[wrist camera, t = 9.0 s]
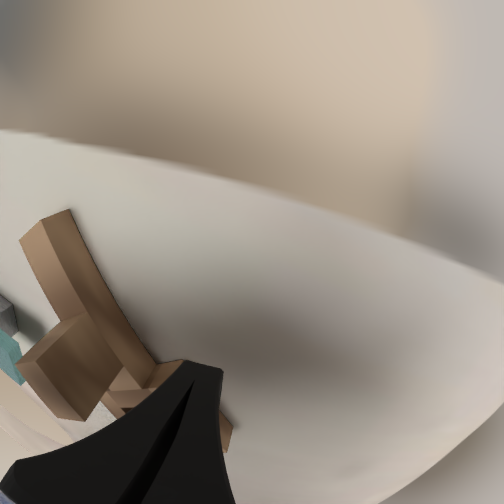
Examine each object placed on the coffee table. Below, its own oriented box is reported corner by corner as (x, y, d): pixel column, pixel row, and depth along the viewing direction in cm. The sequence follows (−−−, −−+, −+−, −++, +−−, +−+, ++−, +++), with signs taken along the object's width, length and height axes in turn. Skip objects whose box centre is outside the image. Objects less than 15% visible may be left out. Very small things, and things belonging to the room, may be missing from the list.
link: (233, 427, 14) (213, 506, 9) (159, 430, 15) (131, 492, 10) (90, 192, 10) (-12, 229, 5) (30, 240, 11) (-44, 280, 7)
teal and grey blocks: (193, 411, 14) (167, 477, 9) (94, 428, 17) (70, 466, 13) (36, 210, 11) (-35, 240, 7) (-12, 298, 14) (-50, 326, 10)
